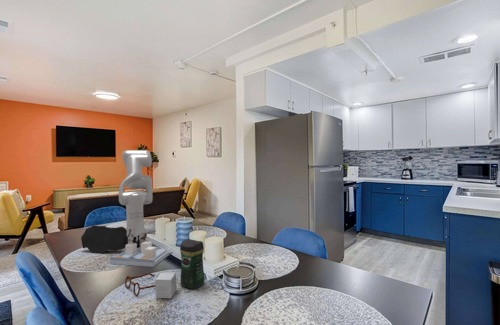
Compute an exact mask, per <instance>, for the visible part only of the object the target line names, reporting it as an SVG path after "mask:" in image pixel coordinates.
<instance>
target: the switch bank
mask: <svg viewBox="0 0 500 325" xmlns="http://www.w3.org/2000/svg"><path fill="white" fill-rule="evenodd" d="M155 247H156V257H154V258H153V259H148V258H145V253H141V246H140V247H139V248H137V252H135V253H134V254H132V255H126V250H125V251H122V252H120V253H119V254H117V255H114V256H113V255H112V256H110V257H109V263H110V265H121V266H122V265H123V266H136V267H149V268H153V267H155V266H157V265H158V264H159V263H161V262H163V260H165V259H166V258H168V256H170V255H171V254H169V252H168V251H167V248H160V246H155ZM164 249H166V250H164Z"/></svg>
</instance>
